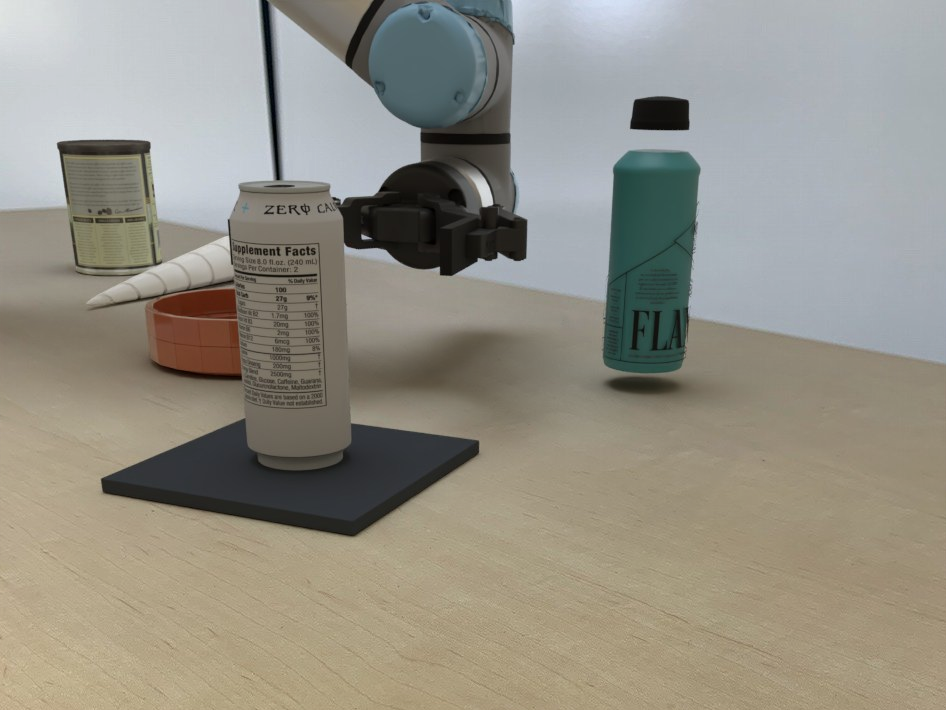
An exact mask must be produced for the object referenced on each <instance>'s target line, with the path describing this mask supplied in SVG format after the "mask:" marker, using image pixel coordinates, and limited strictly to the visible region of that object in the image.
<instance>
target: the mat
mask: <svg viewBox="0 0 946 710" xmlns="http://www.w3.org/2000/svg"><path fill="white" fill-rule="evenodd" d="M479 453H480V440H479V439H471V438H464V437H457V436H449V435H443V434H435V433H427V432H420V431H413V430H406V429H405V430H404V429H398V428H391V427H383V426H376V425H369V424H361V423H355V422H354V423H352V422H351V444H350V445H349V446H348V447H347V448H345V449H344V450H343V458H342V460H341V461H340V462H338V463H337V464H334V465H332V466H328V467H325V468H320V469H313V470H296V471H293V470H280V469H274V468H270V467H267V466H264V465H263V464H261V463H260V462H259V461H258V455H257V453H256V452H254V451H253V450H252V449H250V448H249V447H248V444H247V433H246V420H245V417H244V418H241V419H239V420H236V421H234V422H232V423H229V424H227V425H224V426H222V427H220V428H217V429H215V430H213V431H211V432H207V433H205V434H203V435H201V436H198V437H195V438H194V439H192V440H189V441H187V442H185V443H182V444H179V445H177V446H174V447H172V448H170V449H167V450H165V451H163V452H160V453H158V454H155V455H154V456H151V457H149V458H146V459H144V460H141V461H139V462H137V463H134V464H132V465H129V466H128V467H125V468H123V469H120V470H117V471H115V472H113V473H110V474H108V475H106V476H104V477H101V478H100V484H101V491H102V493H107V494H114V495H119V496H124V497H130V498H136V499H142V500H147V501H152V502H159V503H164V504H170V505H175V506H182V507H188V508H193V509H197V510H203V511H210V512H216V513H222V514H227V515H232V516H233V515H234V516H239V517H244V518H251V519H256V520H262V521H267V522H273V523H278V524H283V525H284V524H285V525H290V526H297V527H303V528H308V529H313V530H319V531H325V532H331V533H337V534H341V535H348V536H355V535H357V534H358V533H360V532H361V531H362V530H364V529H366V528H367V527H369V526H370V525H371V524H373V523H374V522H376V521H378V520H379V519H381V518H383V517H384V516H386V515H387V514H389V513H390V512H392V511H393V510H395V509H396V508H398V507H399V506H400V505H402V504H404V503H405V502H407V501H408V500H409V499H411V498H412V497H414V496H416V495H417V494H418V493H420V492H422V491H423V490H425V489H426V488H427V487H429V486H431V485H432V484H434V483H435V482H437V481H438V480H440V479H441V478H442V477H444V476H446V475H447V474H449V473H451V472H452V471H453V470H455V469H457V468H458V467H460V466H461V465H463V464H464V463H466V462H467V461H468V460H470V459H472V458H473V457H474V456H476V455H478V454H479Z"/></svg>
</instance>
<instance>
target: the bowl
mask: <svg viewBox="0 0 946 710" xmlns="http://www.w3.org/2000/svg"><path fill="white" fill-rule="evenodd" d="M144 312H145V313H144V314H145V322H146V331H147V332H146V333H147V341H148V349H149V358H150V359H151V360H152V361H154V362H155V363H157V365H160V366H163V367H167V368H172V369H174V370H178V371H184V372H189V373H193V374H201V375H209V376H227V377H237V376H238V377H240V376H241V377H242V370H241V357H240V345H239V332H238V320H237V307H236V295H235V287H218V288H205V289H203V288H202V289H195V290H194V289H193V290H187V291H179V292H173V293H168V294H164V295H160V296H156V297H155V298H153V299H151V300H149V301H147V302H146V303H145V306H144Z"/></svg>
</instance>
